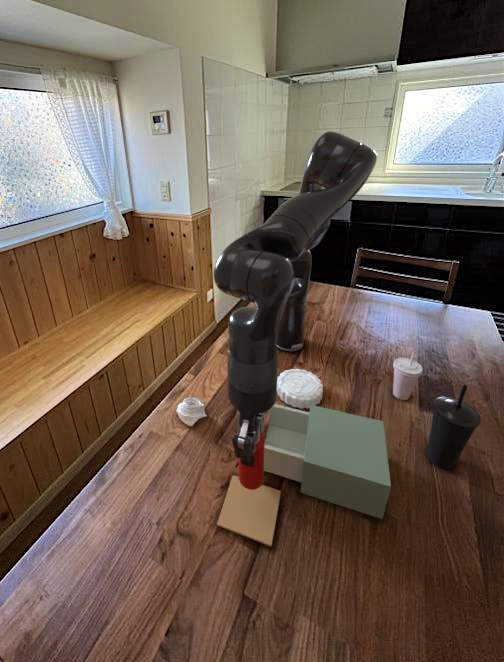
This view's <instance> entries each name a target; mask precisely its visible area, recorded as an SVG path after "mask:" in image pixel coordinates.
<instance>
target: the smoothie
mask: <svg viewBox="0 0 504 662" xmlns="http://www.w3.org/2000/svg"><path fill="white" fill-rule="evenodd" d="M415 355H416V351H415V350H412V353H411V356H410V358H408V357H398V358H395V359H394V361H393V363H392V367H393V384H392V395H393V396H394V397H395V398H397V399H398V400H401V401H407V400H409V399H410V396H411V394H412V392H413V390H414V388H415V386H416V383H417V381H418V380H419V378H420V377H421V375H422V374H423V371H424V370H423V369H424V368H423V367H422V365H421V364H420V363H419V362H418V361H416V360H414V359H415Z"/></svg>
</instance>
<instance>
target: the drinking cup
mask: <svg viewBox="0 0 504 662" xmlns="http://www.w3.org/2000/svg"><path fill="white" fill-rule="evenodd" d="M467 389H468V385H466V384H462V387H461V390H460V392H459V396H458V398H455V397H452V396H439V397H437V398H436V399H434V401H433V403H432V408H433V413H432V419H431V426H430V431H429V432H430V433H429V438H428V445H427V452H426V456H427V458H428V459H429V461H430V462H431V463H432V464H433V465H434V466H436V467H438V468H440V469H443V470H450V469H453V468H454V467H455V465H456V464H457V462H458V460H459V458H460V456H461V455H462V453H463V451H464V449H465V447H466V446H467V444H468V443H469V440H470V439H471V437H472V436H473V434H474V432H475V430H476V428H477V427H479V426H480V425H481V422H482V418H481V415H480V413H479V412H478V411H477V409H476V408H475V407H473V406H472V405H470V404H469V403H468V402H465V401H464V398H465V394H466V393H467Z"/></svg>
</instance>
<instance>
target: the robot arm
mask: <svg viewBox="0 0 504 662" xmlns="http://www.w3.org/2000/svg"><path fill="white" fill-rule="evenodd" d="M377 160H378V154H377V153H376V151H375V150H374V149H372V148H371V147H369V146H368V145H365V144H364V143H361V142H359V141H358V140H355V139H353V138H351V137H349V136H347V135H345V134H342V133H339V132H337V131H336V132H335V131H331V130H329V131H326V132H323V133H322V134H321V135H320V136H318V138H317V140H315V142H314V144H313V146H312V148H311V150H310V152H309V154H308V156H307V160H306V162H305V164H304V165H305V166H304V169H303V173H302V177H301V181H300V186H299V190H298V194H297V195H294V196H292V197H290V198H289V199H287V200H286V201H284V202H283V203H282V204H280V206H278V207H277V209H276V210H275V211H274V212H273V213H272V214H271V215H270V217H269V218H268V219H267V220H266V221H265V222H264V223H263V224H261V225H260V226H257V227H255V228H254V229H251V230H250V231H248V232H247V233H245V234H243V235H242V236H240V237H238V238H237V239H235V240H233V241H232V242H231V243H230V244H228V245H227V246H226V247H225V248H224V249H223V250H222V252H220V254H219V256H218V257H217V259H216V261H215V265H214V267H213V280H214V283H215V286H216V287H217V288H218V290H219V291H220V292H222V293H223V294H225V295H227V296H231V297H233V298H237V299H240V300H243V301H246V302H250V303H253V304H254V305H255V306H243V307H240V308H236V309H235V310H234V311H233V312H232V313H231V314H230V316H229V319H228V323H227V332H228V333H227V334H228V335H227V337H228V340H227V342H228V343H227V344H228V352H227V360H226V361H227V363H226V366H227V369H226V370H227V398H228V400H229V402H230V404H231V405H232V406H233V407H234V408H235V409H236V421H237V427H236V434H233V437H232V440H231V441H232V446H233V452H234V456H235V458H237V459H239V458H241V464H242V465H243V466H246V467H250V468H253V467H254V463H255V451H256V449H255V445H256V442H258V439H259V436H260V431H261V428H262V423H263V421H264V417H265V418H266V412H268V411H270V409H271V408H272V407H273V405H274V404H276V401H277V395H278V392H277V379H278V372H279V367H278V366H279V359H278V349H279V350H281V351H283V352H288V353H294V352H298V351H300V350H302V349H303V347H304V338H305V328H306V327H305V326H306V325H305V324H306V315H307V304H308V294H309V288H310V280H311V275H312V266H313V258H312V253H311V250H312V249H313V248H315V247H316V246H318V245H319V244H320V243H321V242H322V241H323V239H324V237H325V235H326V234H327V232H328V230H329V228H330V225H331V220H332V218H334V216H335V215H336V214H337V213H339V212H340V211H341V210H342V209H343V208H344V207H345V206H347V204H348V203H349V202H350V201H351V200H352V199H353V198H354V197H355V196H356V195H357V194H358V193H359V191H361V189H362V188H363V186H364V185H365V184H366V182H367V181H368V180H369V178H370V176H371V174H372V173H373V171H374V169H375V167H376V164H377ZM248 431H249V432H248ZM254 431H255V433H252V432H254Z"/></svg>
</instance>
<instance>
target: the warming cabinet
mask: <svg viewBox="0 0 504 662" xmlns="http://www.w3.org/2000/svg"><path fill="white" fill-rule="evenodd" d="M309 413H310V414H309V422H308V430H307V438H306V446H305V454H304V462H303V472H302V481H301V482H300V494H303V495H307V496H310V497H313V498H316V499H318V500H322V501H325V502H328V503H331V504H334V505H337V506H340V507H343V508H346V509H350V510H352V511H356V512H358V513H362V514H365V515H368V516H371V517H374V518H378V519H379V520H383V519H384V515H385V512H386V507H387V504H388V501H389V496H390V494H391V489H392V483H391V482H392V481H391V474H390V473H391V472H390V465H389V457H388V448H387V440H386V431H385V423H384V421H382V420H378V419H373V418H369V417H367V416H366V417H365V416H361V415H358V414H357V415H356V414H352V413H348V412H344V411H340V410H335V409H331V408H326V407H322V406H318V405H316V406H314V405H311V406H310V408H309Z"/></svg>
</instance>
